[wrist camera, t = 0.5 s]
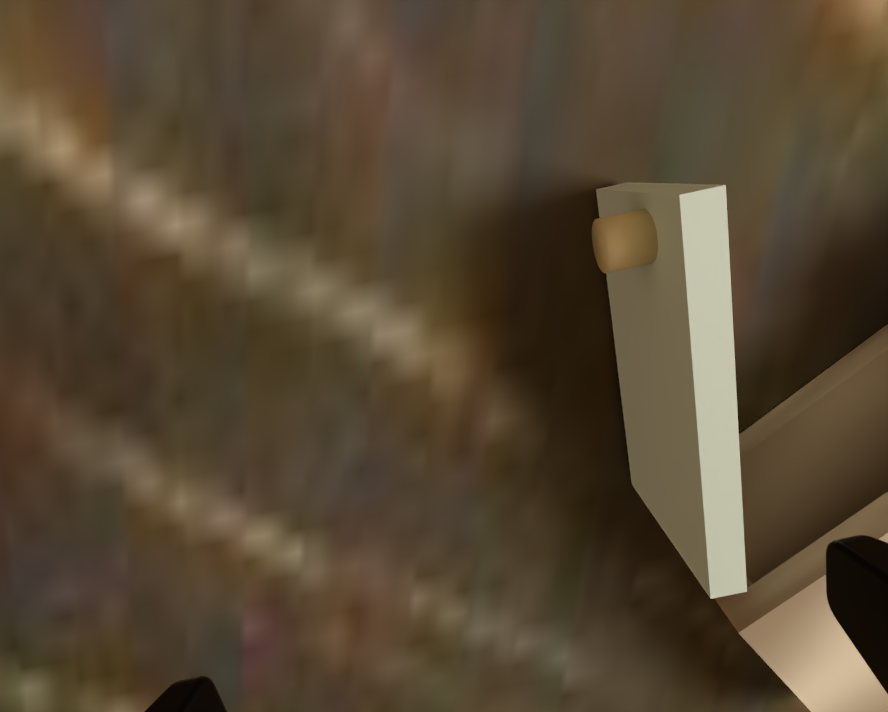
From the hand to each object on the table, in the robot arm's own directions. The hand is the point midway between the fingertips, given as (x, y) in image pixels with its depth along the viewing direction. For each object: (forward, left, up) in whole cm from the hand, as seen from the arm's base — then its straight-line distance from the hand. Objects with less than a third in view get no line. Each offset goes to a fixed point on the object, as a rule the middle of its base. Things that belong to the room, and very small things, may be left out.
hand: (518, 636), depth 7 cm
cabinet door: (-4, -4, -13) cm, 14 cm away
